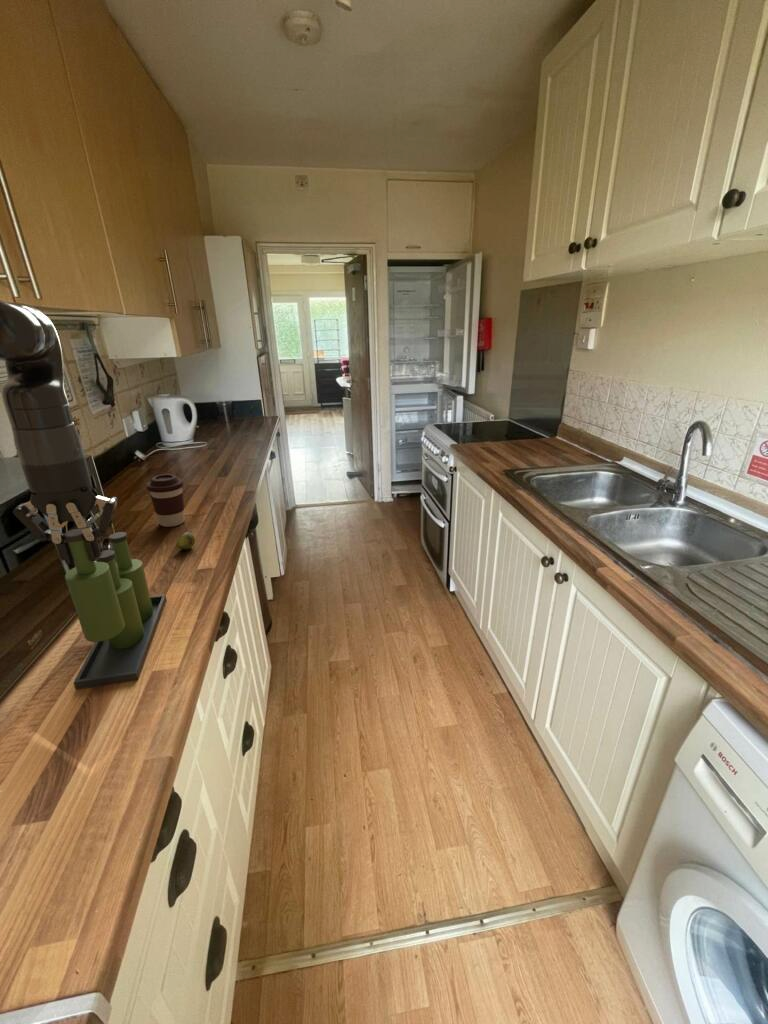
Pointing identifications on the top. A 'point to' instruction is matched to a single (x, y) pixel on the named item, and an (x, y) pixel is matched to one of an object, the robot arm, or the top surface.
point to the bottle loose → (92, 592)
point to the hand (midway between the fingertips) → (83, 559)
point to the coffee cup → (167, 499)
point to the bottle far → (132, 573)
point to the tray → (119, 656)
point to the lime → (186, 541)
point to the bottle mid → (124, 606)
